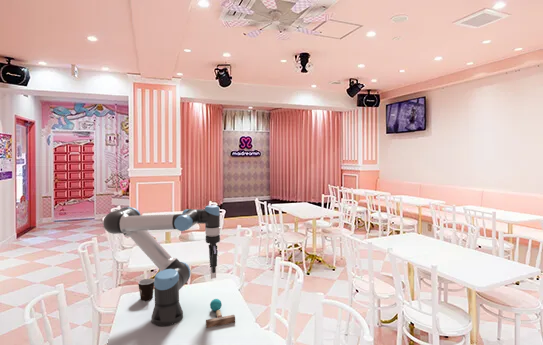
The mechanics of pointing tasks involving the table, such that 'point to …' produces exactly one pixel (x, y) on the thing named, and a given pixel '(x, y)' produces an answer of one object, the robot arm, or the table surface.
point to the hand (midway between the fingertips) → (213, 277)
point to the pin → (218, 313)
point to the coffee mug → (146, 289)
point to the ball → (215, 304)
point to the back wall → (220, 321)
